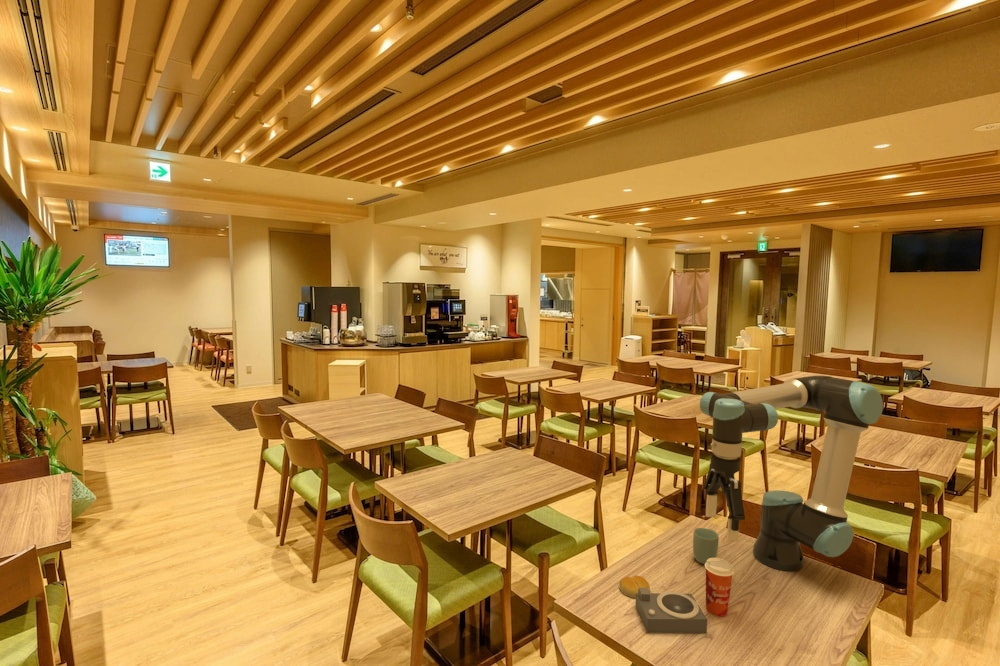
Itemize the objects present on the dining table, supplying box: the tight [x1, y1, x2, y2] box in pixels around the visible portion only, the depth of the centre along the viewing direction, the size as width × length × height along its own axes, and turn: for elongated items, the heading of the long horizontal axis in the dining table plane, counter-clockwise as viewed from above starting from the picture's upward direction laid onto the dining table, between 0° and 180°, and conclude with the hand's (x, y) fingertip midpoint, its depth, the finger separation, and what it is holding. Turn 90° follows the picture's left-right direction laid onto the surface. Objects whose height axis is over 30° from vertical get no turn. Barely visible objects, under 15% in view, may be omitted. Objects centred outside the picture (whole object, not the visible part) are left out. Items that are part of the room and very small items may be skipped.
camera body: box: [634, 588, 708, 634], centre depth 138 cm, size 16×11×6 cm
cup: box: [692, 527, 720, 565], centre depth 167 cm, size 8×8×10 cm
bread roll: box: [619, 575, 652, 599], centre depth 151 cm, size 8×9×4 cm
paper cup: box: [704, 557, 735, 617], centre depth 142 cm, size 8×8×14 cm
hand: (721, 528), depth 140 cm, fingers open, 13 cm apart
